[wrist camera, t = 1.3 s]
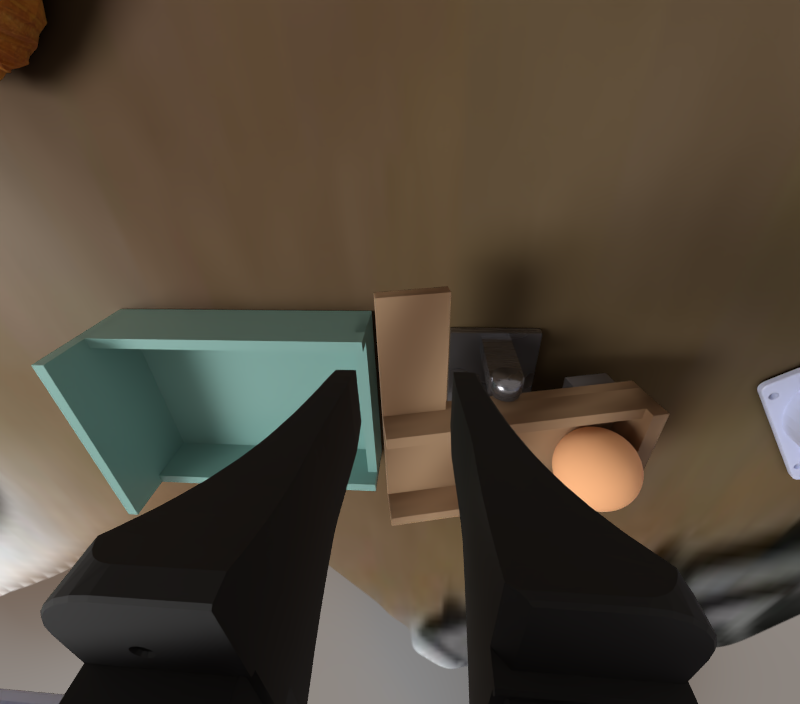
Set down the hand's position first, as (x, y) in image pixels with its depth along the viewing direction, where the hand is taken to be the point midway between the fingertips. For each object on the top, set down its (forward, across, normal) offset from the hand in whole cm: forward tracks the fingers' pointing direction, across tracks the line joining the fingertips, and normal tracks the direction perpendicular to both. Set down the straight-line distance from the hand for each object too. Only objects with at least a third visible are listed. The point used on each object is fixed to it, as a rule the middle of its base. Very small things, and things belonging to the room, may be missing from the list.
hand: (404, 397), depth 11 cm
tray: (+10, +10, +8) cm, 17 cm away
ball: (+4, -9, +8) cm, 13 cm away
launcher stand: (+10, -4, +8) cm, 14 cm away
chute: (+8, -4, +5) cm, 10 cm away
